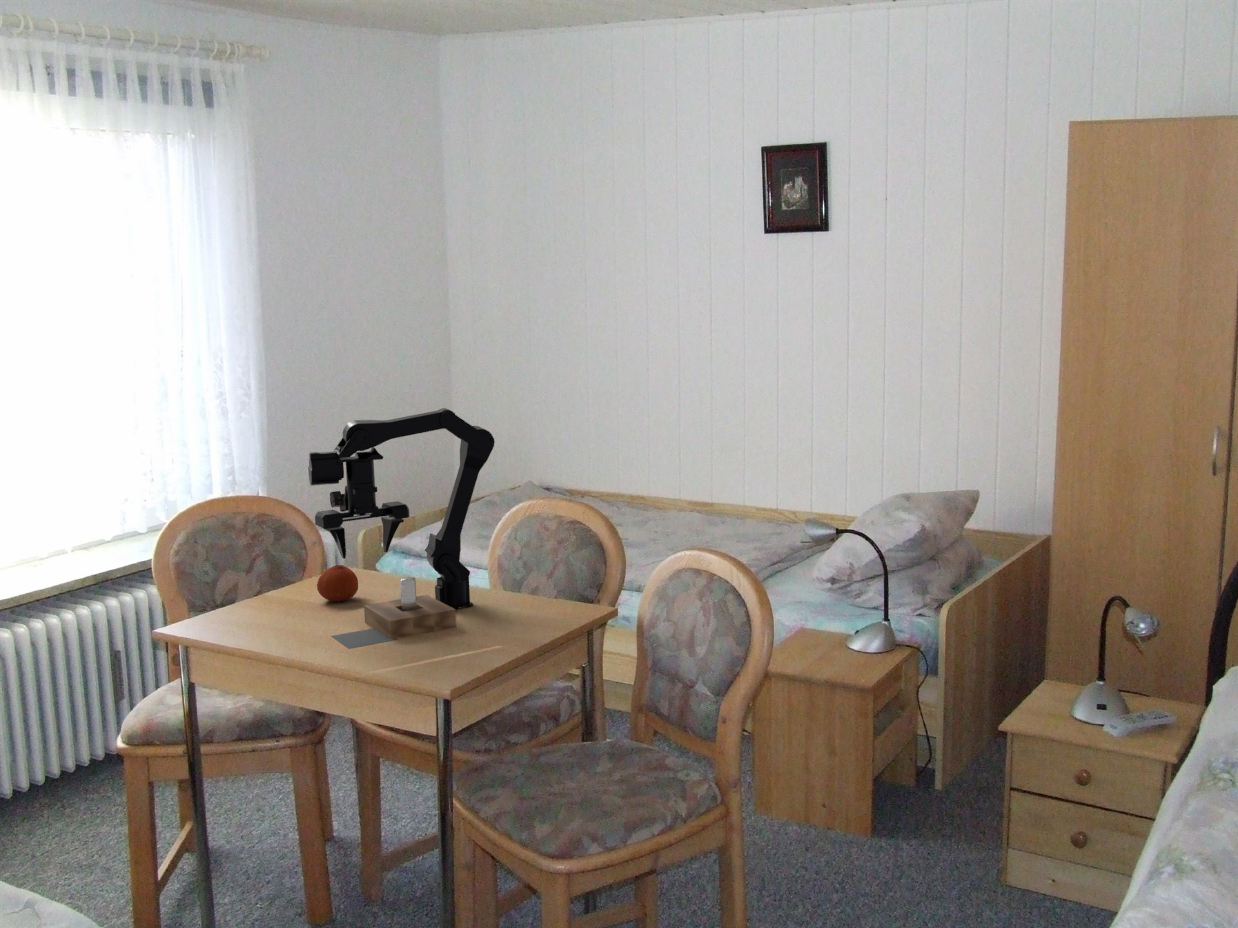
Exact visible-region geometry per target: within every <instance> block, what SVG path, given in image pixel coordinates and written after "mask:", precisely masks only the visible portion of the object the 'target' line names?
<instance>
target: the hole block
mask: <svg viewBox="0 0 1238 928" xmlns="http://www.w3.org/2000/svg"><path fill="white" fill-rule="evenodd" d="M416 603H417V609H416V610H410V611H405V612H403V611H402V603H401V598H399V599H393V600H388V601H387V600H386V601H382V602H377V603H376V602H375V603H371V604H364V605H363V613H364V623H365V624H367V626H369V627H371V629H372V628H374V629H376V630H378V631H379V632H381V633H382V634H384V635H386V636H387V637H389V638H390V639H394V638H396V639H399V638H405V637H410V636H415V635H420V634H426V633H431V632H435V631H442V630H446V629H447V630H448V629H453V628H456V627H457V619H456V618H457V616H456V609H454V608H452V607H450V606H448V605H446V604H444V603H442V602H440V601H438V600H436V599H435V597H432V596H431V595H430V594H429V595H428V594H423V595H416Z"/></svg>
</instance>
